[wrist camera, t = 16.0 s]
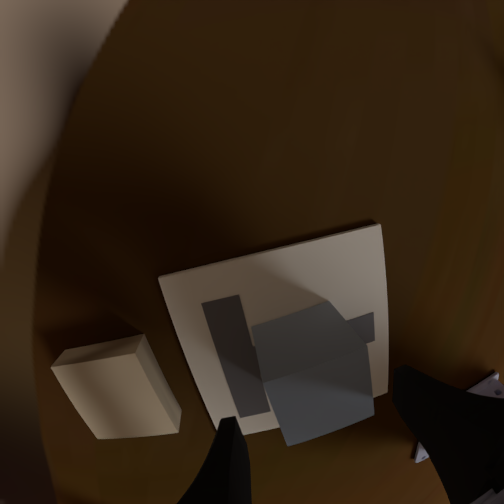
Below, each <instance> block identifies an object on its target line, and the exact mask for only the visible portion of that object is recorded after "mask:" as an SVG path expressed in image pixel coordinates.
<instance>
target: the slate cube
mask: <svg viewBox="0 0 504 504" xmlns="http://www.w3.org/2000/svg"><path fill="white" fill-rule="evenodd" d="M251 329H252V334H253V339H254V344H255V348H256V353H257V358H258V363H259V368H260V373H261V378H262V382H263V385H264V388H265V391H266V393H267V396H268V398H269V401H270V403H271V406H272V408H273V411H274V413H275V416H276V418H277V421H278V423H279V426H280V428H281V431H282V433H283V436H284V438H285V441H286V443H287V446H291V445H294V444H298V443H301V442H304V441H307V440H310V439H313V438H316V437H319V436H322V435H325V434H328V433H330V432H333V431H336V430H339V429H341V428H344V427H346V426H349V425H351V424H354V423H356V422H359V421H361V420H364V419H366V418H368V417H371V416H373V415H374V403H373V392H372V381H371V372H370V363H369V354H368V347H367V345H366V344H365V342H364V341H363V340H362V339H361V338H360V336H359V335H358V334H357V333H356V332H355V331H354V329H353V328H352V327H351V326H350V325H349V324H348V322H347V321H346V320H345V319H344V318H343V316H342V315H341V314H340V313H339V312H338V311H337V309H336V308H335V307H334V306H333V305H332V304H331V302H330V301H327V302H324V303H321V304H318V305H316V306H313V307H310V308H307V309H304V310H301V311H298V312H295V313H292V314H289V315H286V316H283V317H280V318H277V319H274V320H271V321H268V322H265V323H261V324H258V325H255V326H252V327H251Z"/></svg>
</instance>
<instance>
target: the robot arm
mask: <svg viewBox="0 0 504 504" xmlns="http://www.w3.org/2000/svg"><path fill="white" fill-rule="evenodd" d="M498 377H499V373H498V372H495V373H493V374H492V375H490V376H489V377H487V378H486V379H484V380H483V381H481V382H480V383H478V384H477V385H475V386H473V387H472V388H470V389H469V390H467V391H464V390H461V389H458V388H455V387H453V386H450V385H447V384H445V383H443V382H440V381H438V380H436V379H434V378H432V377H430V376H428V375H426V374H424V373H421V372H420V371H418V370H416V369H414V368H412V367H410V366H407V365H403V366H401V367H398V368H396V369H394V383H393V400H392V401H393V403H394V405H395V407H396V409H397V410H398V412H399V414H400V416H401V418H402V419H403V420H404V422H405V423H406V424H407V426H408V427H409V429H410V430H411V431H412V433H413V434H414V435H415V437H416V438H417V439H418V441H419V442H418V446H417V450H416V454H415V458H414V461H415V463H418V462H420V461H422V460H424V459H426V458H428V457H430V459H431V461H432V463H433V465H434V467H435V469H436V471H437V473H438V475H439V477H440V479H441V481H442V483H443V486H444V488H445V490H446V493H447V495H448V498H449V501H450V504H504V385H503V384H502V383H500V382H499V381H498ZM177 504H252V502H251V476H250V461H249V454H248V449H247V444H246V441H245V439H244V436H243V434H242V431H241V429H240V426H239V424H238V421H237V418H236V416H232V417H226V418H221V420H220V422H219V425H218V429H217V432H216V435H215V438H214V440H213V443H212V445H211V448H210V450H209V453H208V455H207V457H206V459H205V461H204V463H203V465H202V467H201V469H200V471H199V473H198V474H197V476H196V478H195V479H194V481H193V483H192V484H191V486H190V487H189V488H188V490H187V491H186V492H185V494H184V495H183V496H182V498H181V499H180V500H179V501H178V503H177Z"/></svg>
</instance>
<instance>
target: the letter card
mask: <svg viewBox="0 0 504 504" xmlns="http://www.w3.org/2000/svg"><path fill="white" fill-rule="evenodd" d="M158 280H159V283H160V286H161V289H162V293H163V296H164V299H165V302H166V305H167V307H168V310H169V313H170V316H171V319H172V322H173V325H174V327H175V330H176V333H177V336H178V338H179V341H180V344H181V346H182V349H183V352H184V354H185V357H186V359H187V362H188V364H189V367H190V369H191V372H192V374H193V377H194V379H195V382H196V384H197V387H198V389H199V391H200V394H201V396H202V398H203V401H204V403H205V405H206V408H207V410H208V412H209V414H210V417H211V419H212V421H213V423H214V425H215V427H216V430H217V429H218V425H219V422H220V420H221V418H226V417H232V416H236V418H237V421H238V424H239V426H240V429H241V431H242V434H243V435H246V434H251V433H256V432H261V431H265V430H270V429H274V428H278V427H280V426H279V423H278V421H277V418H276V416H275V413H274V411H273V408H272V406H271V403H270V401H269V398H268V396H267V393H266V391H265V388H264V385H263V382H262V378H261V373H260V368H259V363H258V358H257V353H256V348H255V344H254V339H253V334H252V329H251V327H252V326H255V325H258V324H261V323H265V322H268V321H271V320H274V319H277V318H280V317H283V316H286V315H289V314H292V313H295V312H298V311H301V310H304V309H307V308H310V307H313V306H316V305H318V304H321V303H324V302H327V301H330V302H331V304H332V305H333V306H334V307H335V308H336V309H337V311H338V312H339V313H340V314H341V315H342V316H343V318H344V319H345V320H346V321H347V322H348V324H349V325H350V326H351V327H352V328H353V329H354V331H355V332H356V333H357V334H358V335H359V336H360V338H361V339H362V340H363V341H364V342H365V344H366V345H367V347H368V354H369V363H370V372H371V381H372V392H373V398H374V397H377V396H380V395H382V394H385V393H387V392H388V365H389V333H388V302H387V285H386V271H385V260H384V249H383V240H382V232H381V224H373V225H369V226H365V227H361V228H357V229H352V230H348V231H344V232H340V233H336V234H332V235H328V236H324V237H320V238H315V239H311V240H307V241H303V242H299V243H295V244H291V245H287V246H282V247H278V248H274V249H270V250H266V251H262V252H258V253H254V254H249V255H245V256H241V257H237V258H233V259H229V260H225V261H220V262H216V263H212V264H208V265H204V266H200V267H196V268H191V269H187V270H183V271H179V272H175V273H171V274H167V275H162V276H159V278H158Z"/></svg>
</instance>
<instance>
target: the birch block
mask: <svg viewBox="0 0 504 504" xmlns="http://www.w3.org/2000/svg"><path fill="white" fill-rule="evenodd" d="M51 369H52V370H53V372H54V374H55V376H56V377H57V379H58V381H59V382H60V384H61V386H62V387H63V389H64V391H65V392H66V394H67V395H68V397H69V399H70V400H71V402H72V403H73V405H74V406H75V408H76V409H77V411H78V412H79V414H80V415H81V417H82V418H83V419H84V421H85V422H86V424H87V425H88V427H89V428H90V429H91V431H92V432H93V433H94V435H95V436H96V437H97V439H112V438H130V437H143V436H154V435H163V434H172V433H178V432H179V425H180V418H181V411H182V410H181V408H180V406H179V404H178V402H177V401H176V399H175V397H174V395H173V393H172V391H171V389H170V387H169V385H168V383H167V381H166V379H165V377H164V375H163V373H162V371H161V369H160V367H159V365H158V363H157V361H156V359H155V357H154V354H153V352H152V350H151V348H150V346H149V343H148V341H147V339H146V337H145V334H141V335H136V336H132V337H127V338H122V339H118V340H113V341H108V342H103V343H98V344H93V345H88V346H83V347H78V348H72V349H67V350H64V351H63V353H62V354H61V355H60V356H59V357H58V359H57V360H56V361H55V362H54V364H53V365H52V366H51Z"/></svg>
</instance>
